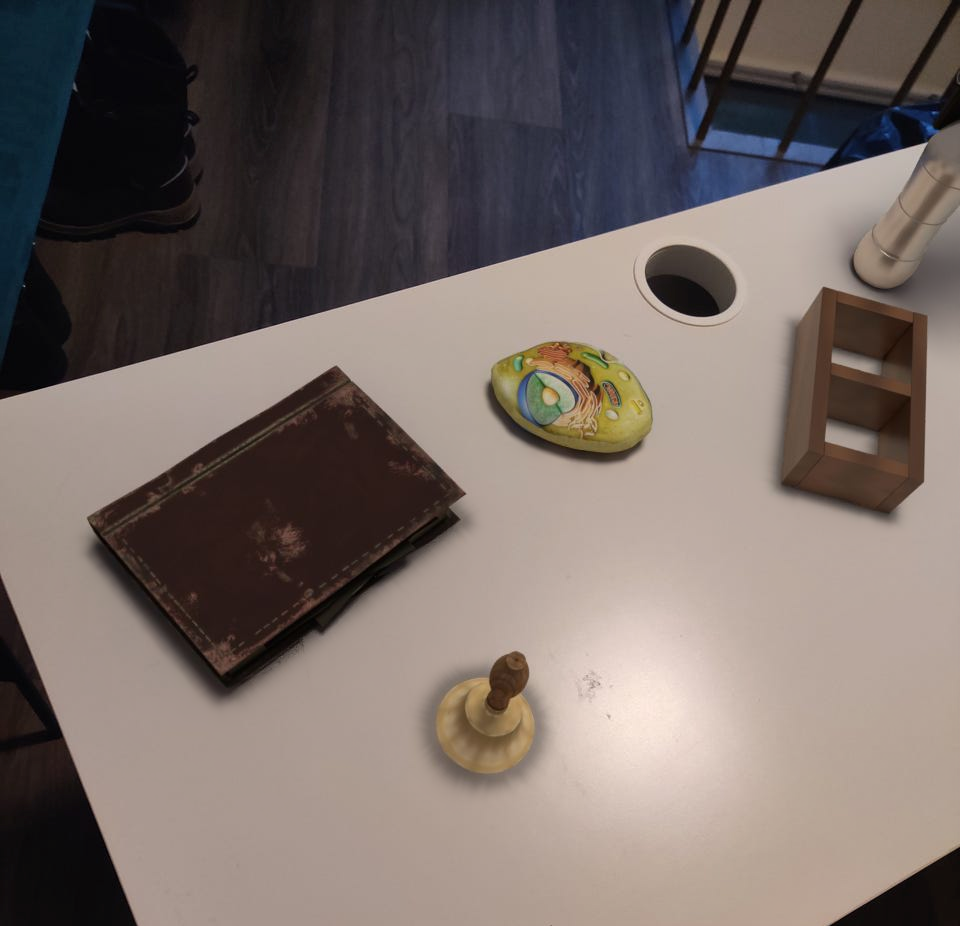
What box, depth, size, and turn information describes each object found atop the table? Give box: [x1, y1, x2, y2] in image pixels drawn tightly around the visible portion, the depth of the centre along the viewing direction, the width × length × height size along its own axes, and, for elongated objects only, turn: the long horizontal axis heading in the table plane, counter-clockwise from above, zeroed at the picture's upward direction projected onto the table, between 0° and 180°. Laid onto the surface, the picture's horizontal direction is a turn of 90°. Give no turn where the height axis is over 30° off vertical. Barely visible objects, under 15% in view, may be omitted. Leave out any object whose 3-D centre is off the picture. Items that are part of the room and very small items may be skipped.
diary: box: [86, 365, 467, 691], centre depth 71 cm, size 19×25×5 cm
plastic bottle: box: [853, 119, 960, 290], centre depth 85 cm, size 6×7×20 cm
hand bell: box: [435, 650, 535, 774], centre depth 61 cm, size 8×8×16 cm
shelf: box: [780, 286, 929, 514], centre depth 83 cm, size 11×20×6 cm, turn 167°
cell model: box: [490, 340, 654, 454], centre depth 79 cm, size 11×8×15 cm
